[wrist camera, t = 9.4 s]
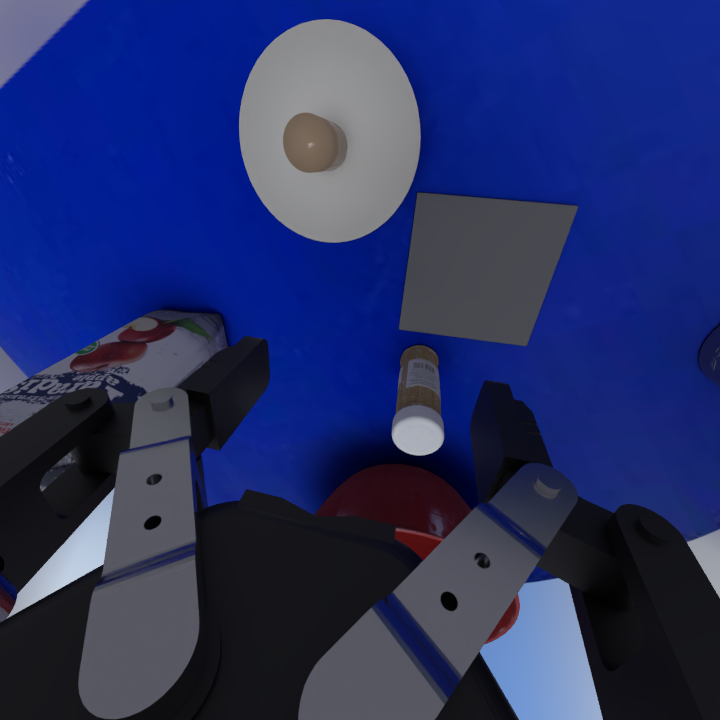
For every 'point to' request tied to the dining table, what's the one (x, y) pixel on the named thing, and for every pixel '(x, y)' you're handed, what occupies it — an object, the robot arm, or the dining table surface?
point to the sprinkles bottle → (418, 403)
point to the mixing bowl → (408, 511)
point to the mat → (481, 265)
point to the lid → (329, 130)
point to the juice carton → (120, 367)
